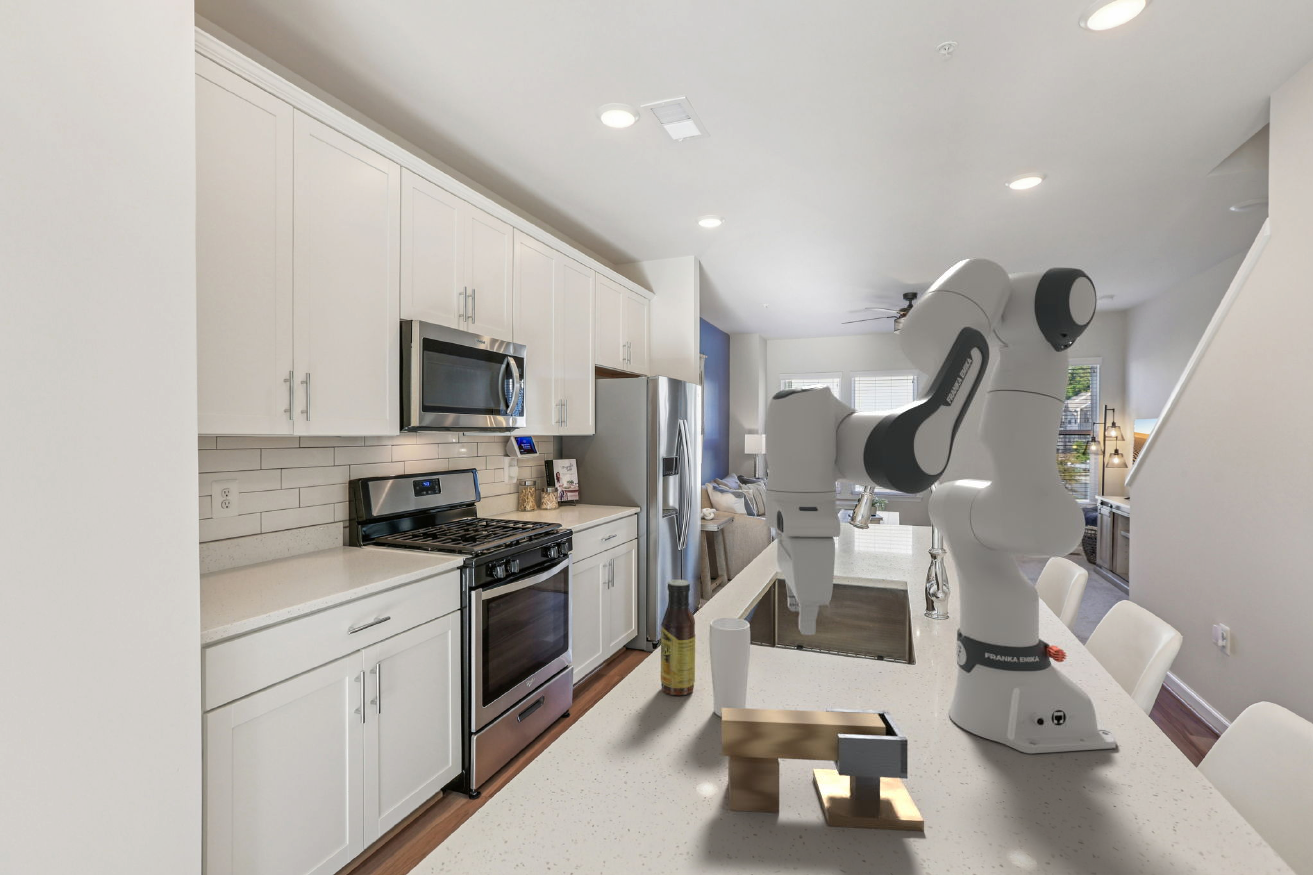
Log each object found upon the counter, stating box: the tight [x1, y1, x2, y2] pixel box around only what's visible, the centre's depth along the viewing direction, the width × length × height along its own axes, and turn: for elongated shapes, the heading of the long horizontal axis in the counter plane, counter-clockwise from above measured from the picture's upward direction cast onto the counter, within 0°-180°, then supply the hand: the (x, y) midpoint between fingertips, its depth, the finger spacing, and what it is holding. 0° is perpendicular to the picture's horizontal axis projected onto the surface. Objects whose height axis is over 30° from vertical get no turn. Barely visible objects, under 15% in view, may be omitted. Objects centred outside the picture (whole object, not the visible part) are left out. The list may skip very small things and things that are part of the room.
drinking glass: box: [708, 617, 751, 718], centre depth 99 cm, size 7×7×15 cm
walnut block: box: [727, 756, 780, 814], centre depth 76 cm, size 6×6×6 cm
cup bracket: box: [812, 708, 925, 832], centre depth 75 cm, size 11×10×10 cm
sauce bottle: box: [660, 579, 696, 696], centre depth 108 cm, size 7×6×20 cm
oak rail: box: [721, 708, 886, 762], centre depth 76 cm, size 20×4×4 cm, turn 85°
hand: (800, 620), depth 76 cm, fingers open, 8 cm apart
